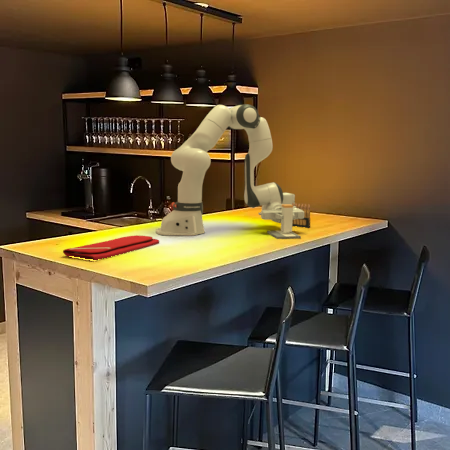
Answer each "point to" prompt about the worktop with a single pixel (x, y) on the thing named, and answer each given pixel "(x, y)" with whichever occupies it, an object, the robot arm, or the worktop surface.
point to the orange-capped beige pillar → (287, 217)
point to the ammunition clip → (306, 220)
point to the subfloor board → (283, 235)
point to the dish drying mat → (111, 247)
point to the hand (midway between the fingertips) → (287, 217)
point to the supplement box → (288, 199)
